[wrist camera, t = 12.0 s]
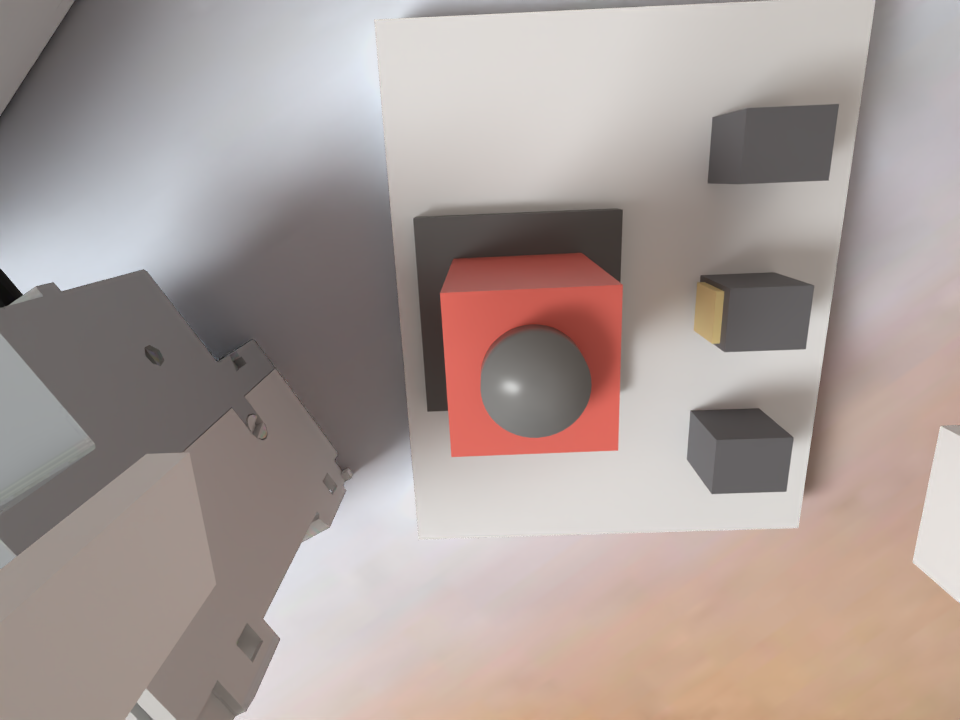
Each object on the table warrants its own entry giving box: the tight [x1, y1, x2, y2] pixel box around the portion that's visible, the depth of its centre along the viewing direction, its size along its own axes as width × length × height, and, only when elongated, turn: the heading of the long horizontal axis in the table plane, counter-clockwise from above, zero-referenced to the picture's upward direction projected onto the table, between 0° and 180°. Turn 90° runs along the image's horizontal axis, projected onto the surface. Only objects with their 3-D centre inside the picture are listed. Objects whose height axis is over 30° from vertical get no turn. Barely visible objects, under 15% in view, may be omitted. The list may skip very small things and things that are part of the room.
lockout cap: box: [440, 253, 623, 457], centre depth 19 cm, size 5×5×8 cm
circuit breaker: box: [0, 269, 353, 720], centre depth 20 cm, size 8×14×15 cm, turn 31°
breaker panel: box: [374, 0, 876, 540], centre depth 24 cm, size 22×18×5 cm
